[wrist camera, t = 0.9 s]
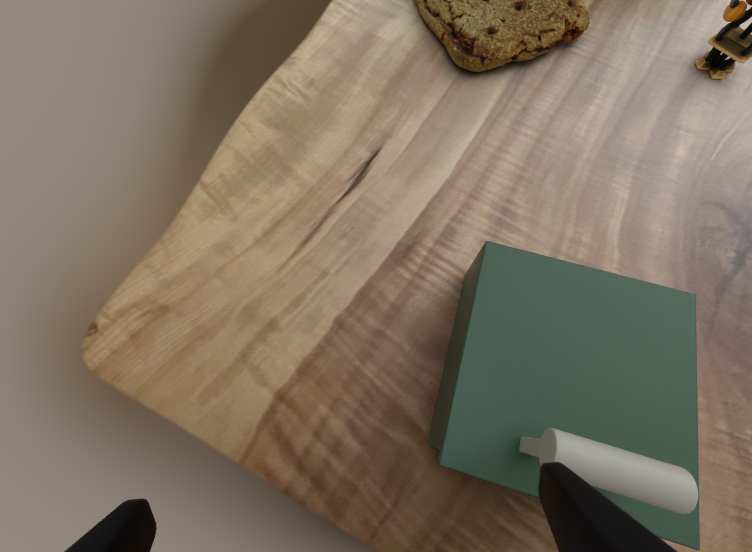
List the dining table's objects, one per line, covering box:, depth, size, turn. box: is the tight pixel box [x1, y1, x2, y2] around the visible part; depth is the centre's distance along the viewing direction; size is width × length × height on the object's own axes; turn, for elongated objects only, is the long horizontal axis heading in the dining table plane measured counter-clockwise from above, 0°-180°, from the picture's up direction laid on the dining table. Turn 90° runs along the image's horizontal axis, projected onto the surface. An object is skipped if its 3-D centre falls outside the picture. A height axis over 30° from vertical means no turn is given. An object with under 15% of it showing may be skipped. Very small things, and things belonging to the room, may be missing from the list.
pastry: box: [415, 0, 589, 72], centre depth 35 cm, size 17×17×3 cm
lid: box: [437, 241, 700, 550], centre depth 17 cm, size 12×12×5 cm
